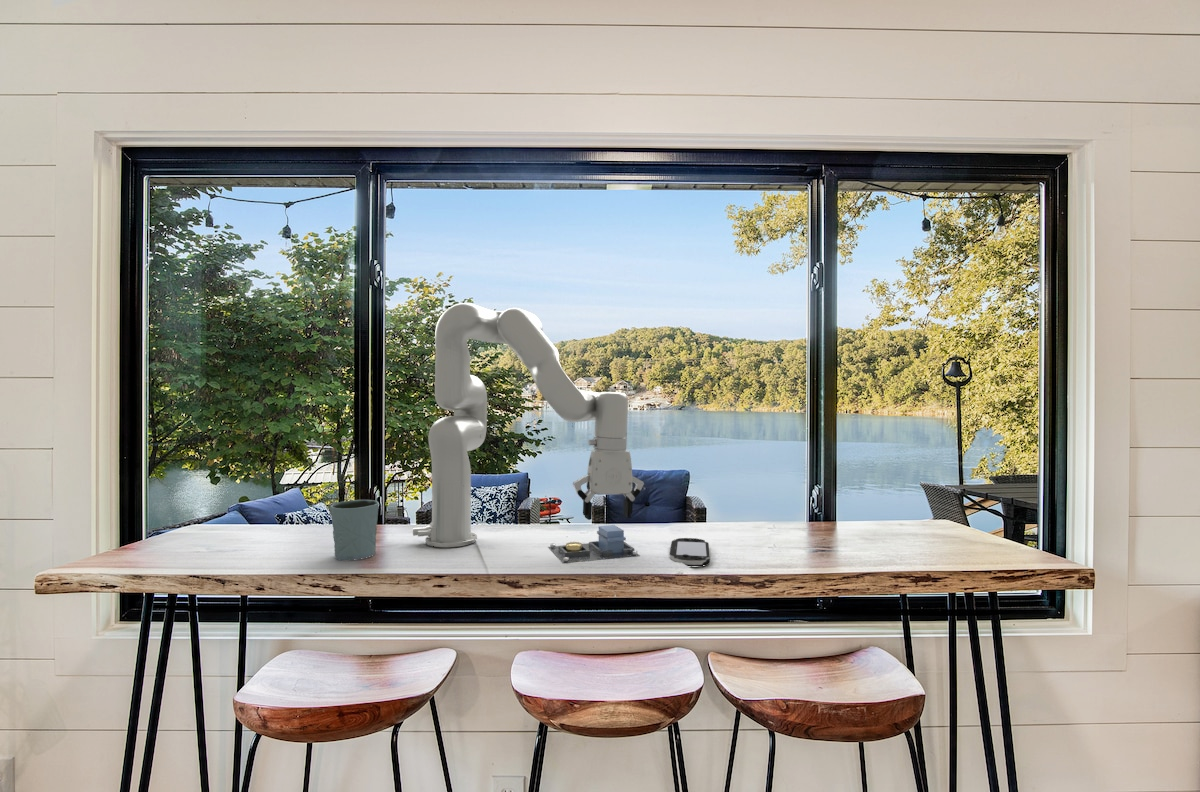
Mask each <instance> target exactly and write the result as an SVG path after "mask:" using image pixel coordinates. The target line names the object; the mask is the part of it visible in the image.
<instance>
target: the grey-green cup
mask: <svg viewBox="0 0 1200 792" xmlns="http://www.w3.org/2000/svg"><path fill="white" fill-rule="evenodd" d="M379 504H380V503H379V501H377V500H373V499H351V500H343V501H340V502H339V501H338V502H336V503H333V504H331V505H330V506H329V507H330V508H329V509H330V513H331V515H330V516H331V525H332V529H333V530H332V535H333V536H332V537H333V541H334V544H333V545H334V547H333V548H334V558H335V559H336V558H337V559H336V560H338V559H340V560H339V561H342V560H354V559H361V558H366V557H369V556H372V555H374V556H375V554H376V547H377V546H376V543H377V524H378V519H379V518H378V516H379ZM372 557H373V556H372ZM369 558H370V557H369ZM366 559H367V558H366ZM361 560H362V559H361ZM354 561H355V560H354Z"/></svg>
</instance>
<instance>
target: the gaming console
mask: <svg viewBox="0 0 1200 792" xmlns="http://www.w3.org/2000/svg"><path fill="white" fill-rule="evenodd" d="M669 548H670V550H669V559H670V560H672V561H673V562H677V563H682V564H683V565H685V566H686V567H688V566H703V565H706V566H707V565H709V564H710V563H711V553H710V551H711V550H710V544H709V542H707V541H705V539H702V538H697V537H695V538H693V537H692V538H691V537H689V538H688V537H680V538H676V539H673V540H672V541H671V544H670V547H669ZM703 567H704V566H703Z"/></svg>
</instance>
